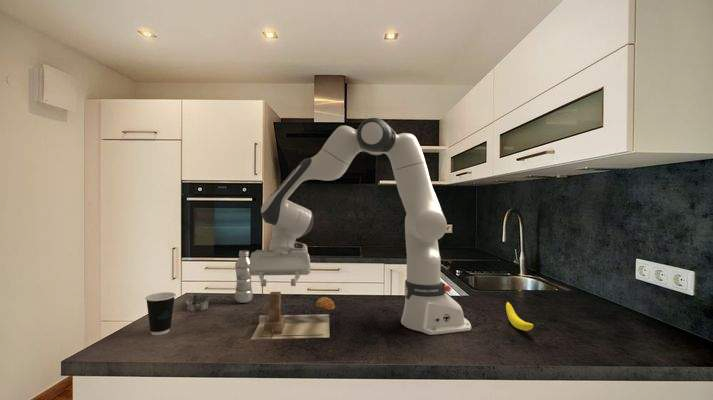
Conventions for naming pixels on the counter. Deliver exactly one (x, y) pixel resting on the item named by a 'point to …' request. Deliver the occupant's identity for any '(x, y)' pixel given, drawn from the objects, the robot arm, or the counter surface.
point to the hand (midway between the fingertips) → (278, 285)
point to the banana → (517, 319)
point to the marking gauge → (274, 315)
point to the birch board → (297, 327)
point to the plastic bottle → (243, 278)
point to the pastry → (325, 303)
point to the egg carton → (197, 302)
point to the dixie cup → (160, 312)
